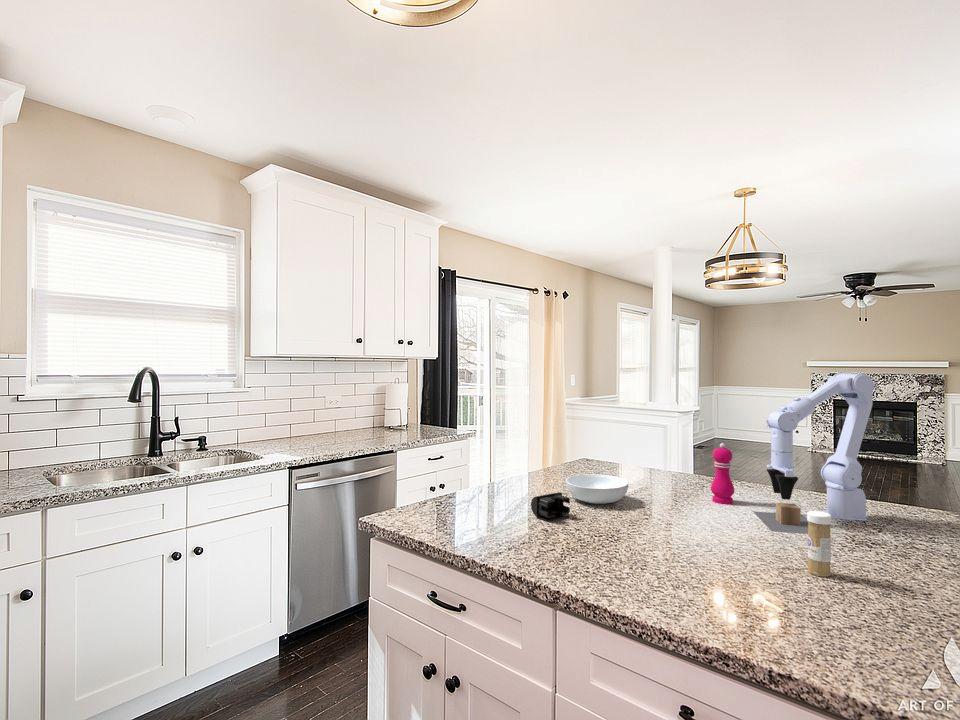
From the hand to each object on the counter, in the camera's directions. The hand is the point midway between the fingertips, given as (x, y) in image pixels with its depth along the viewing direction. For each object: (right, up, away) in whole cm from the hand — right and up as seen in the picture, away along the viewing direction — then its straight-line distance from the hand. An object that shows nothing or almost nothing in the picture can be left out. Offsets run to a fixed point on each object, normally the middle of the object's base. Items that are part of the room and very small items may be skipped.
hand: (781, 496), depth 159 cm
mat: (-1, -7, -6) cm, 9 cm away
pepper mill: (-10, -7, +17) cm, 21 cm away
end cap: (-70, -7, +1) cm, 70 cm away
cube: (-1, -4, -3) cm, 5 cm away
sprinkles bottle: (-16, -7, -42) cm, 46 cm away
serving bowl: (-52, -7, +20) cm, 56 cm away
